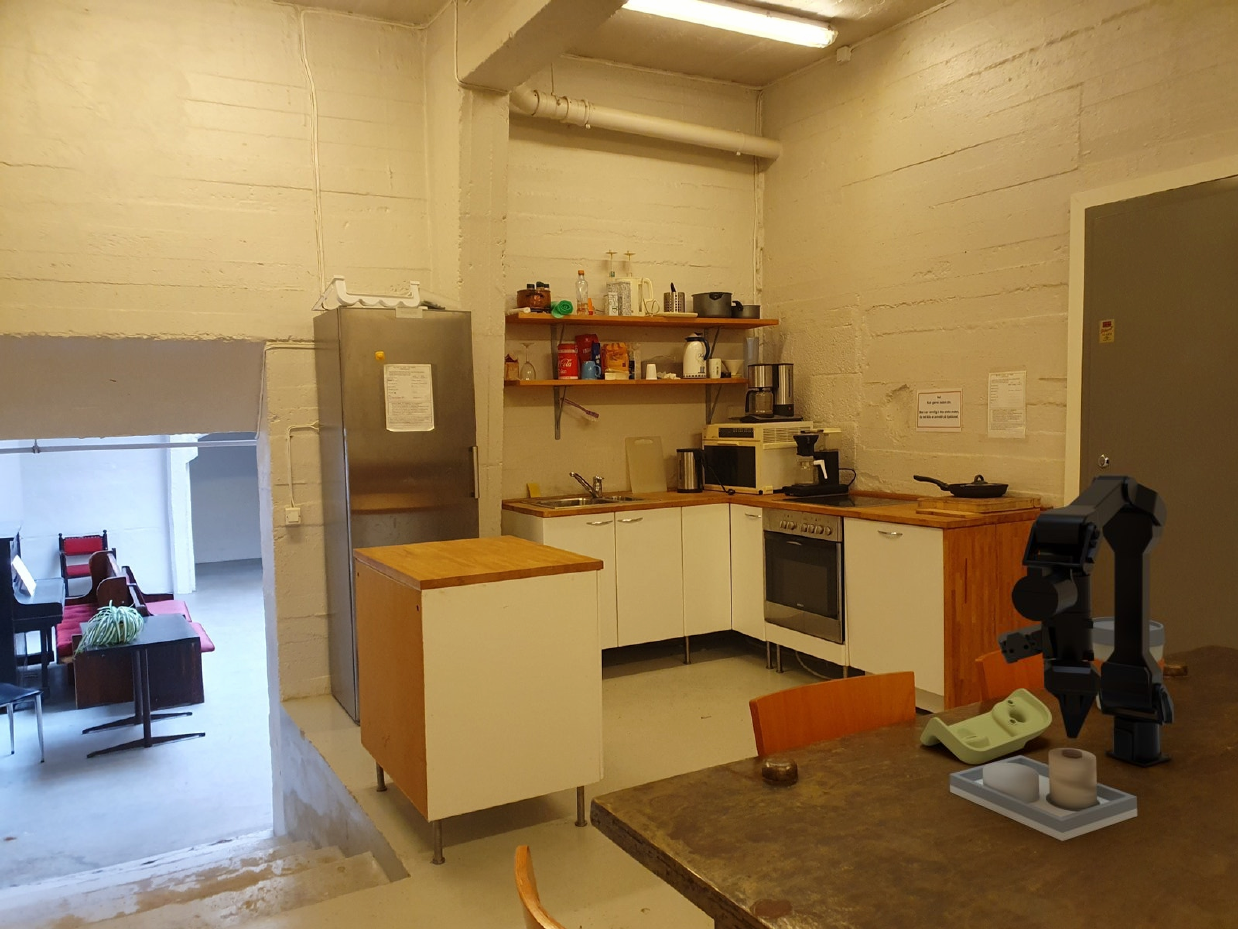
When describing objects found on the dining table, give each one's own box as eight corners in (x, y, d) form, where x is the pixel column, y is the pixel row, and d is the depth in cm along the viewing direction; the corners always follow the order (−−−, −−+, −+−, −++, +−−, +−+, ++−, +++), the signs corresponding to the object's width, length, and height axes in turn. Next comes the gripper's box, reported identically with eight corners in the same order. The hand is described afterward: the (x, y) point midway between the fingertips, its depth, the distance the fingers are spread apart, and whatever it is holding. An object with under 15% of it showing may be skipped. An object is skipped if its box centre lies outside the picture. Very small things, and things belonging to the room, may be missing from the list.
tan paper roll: (1069, 789, 124) (1067, 742, 124) (1106, 803, 119) (1105, 754, 119) (1040, 797, 122) (1038, 750, 121) (1077, 812, 116) (1076, 763, 116)
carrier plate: (1021, 772, 134) (1020, 745, 134) (1137, 816, 117) (1136, 785, 117) (950, 791, 128) (949, 763, 127) (1062, 841, 111) (1061, 808, 111)
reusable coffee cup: (1183, 718, 154) (1181, 630, 154) (1108, 721, 154) (1106, 633, 154) (1141, 696, 167) (1140, 615, 166) (1072, 699, 167) (1070, 618, 166)
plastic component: (974, 754, 135) (927, 710, 143) (961, 790, 139) (915, 745, 147) (1065, 721, 144) (1016, 681, 152) (1050, 756, 147) (1003, 715, 155)
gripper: (1002, 594, 131) (1005, 702, 132) (998, 620, 114) (1002, 743, 115) (1089, 597, 127) (1092, 708, 127) (1098, 624, 110) (1102, 753, 110)
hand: (1070, 726), depth 120 cm, fingers open, 9 cm apart
